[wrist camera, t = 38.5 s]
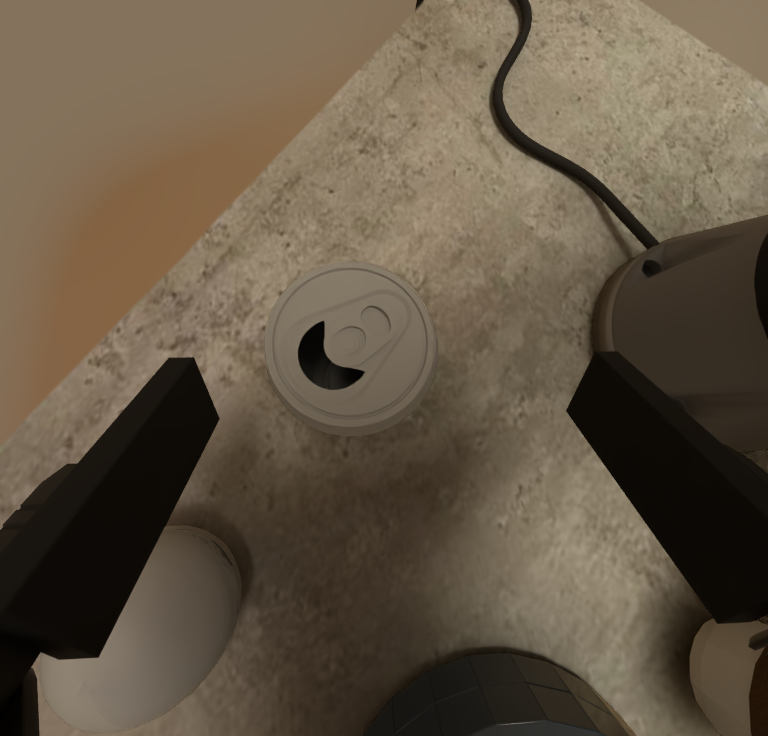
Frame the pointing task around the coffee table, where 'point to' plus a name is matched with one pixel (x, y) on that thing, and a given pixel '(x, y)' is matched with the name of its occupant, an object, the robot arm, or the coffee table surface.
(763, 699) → the coffee cup
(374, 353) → the beverage can
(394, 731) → the bowl
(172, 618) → the bath bomb
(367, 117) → the coffee table surface
